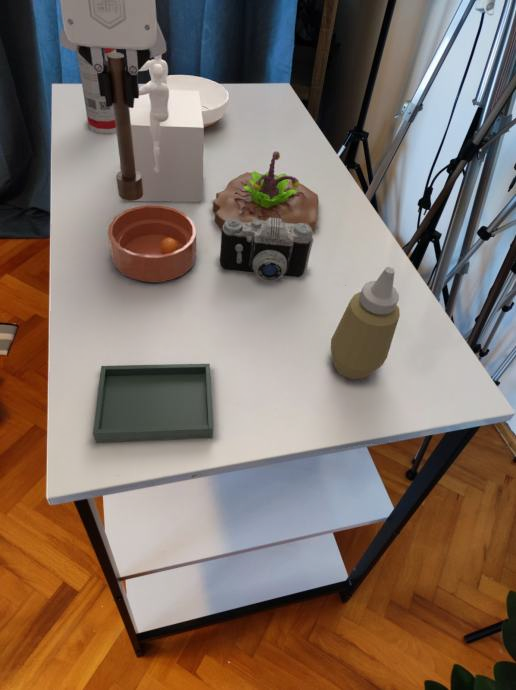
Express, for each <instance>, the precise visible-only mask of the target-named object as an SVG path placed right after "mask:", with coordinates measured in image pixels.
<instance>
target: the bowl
mask: <svg viewBox="0 0 516 690" xmlns="http://www.w3.org/2000/svg"><path fill="white" fill-rule="evenodd" d="M146 84H151V80H149V81H148V82H147V83H146ZM167 86H168V89H169V90H184V91H199V97H200V104H201V111H202V118H203V126H204V128H207V127H208V126H211V125H213V124H215V123H216V122H217V121H219V120H220V119H221V118H223V116H224V115H225V113H226V111H227V108H228V105H229V99H230V94H229V92H228V90H227V89H226V87H224V86H223V85H221V84H220V83H218V82H216V81H213V80H212V79H208V78H205V77H201V76H197V75H196V76H195V75H187V74H170V75H169V74H168V75H167ZM202 106H205V107H207V108H208V109H209V110H208V109H206V108H204V107H202Z"/></svg>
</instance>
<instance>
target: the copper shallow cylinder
mask: <svg viewBox="0 0 516 690" xmlns="http://www.w3.org/2000/svg"><path fill="white" fill-rule="evenodd" d="M107 237H108V244H109V250H110V255H111V260H112V263H113V265H114V267H115V268H116V269H117V270H118V271H119V272H121V273H122V274H123V275H125V276H127V277H128V278H130V279H133V280H138V281H142V282H147V283H148V282H150V283H154V282H155V283H156V282H159V283H161V282H164V281H170V280H174V279H176V278H179V277H182V276H183V275H185V274H186V273H187V272H188V271H189V270H191V269H192V268H193V266H194V264H195V262H196V260H197V226H196V225H195V223H194V221H193V219H192V218H191V217H190V216H188V215H187V214H186V213H185V212H182V211H181V210H179V209H177V208H173V207H169V206H165V205H159V204H157V205H155V204H154V205H151V204H146V205H140V206H139V205H138V206H134V207H131V208H129V209H126V210H123V211H122V212H120V213H119V214H118V215H116V216H115V217H114V218H112V220H111V222H110V223H109V225H108V231H107ZM166 238H172V239H174V240H175V241H176V242H177V243H178V247H179V248H178V250H176V251H174V252H172V253H168V254H163V253H162V251H161V249H160V245H161V242H162V241H163V240H164V239H166Z"/></svg>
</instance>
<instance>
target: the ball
mask: <svg viewBox="0 0 516 690" xmlns="http://www.w3.org/2000/svg"><path fill="white" fill-rule="evenodd" d="M178 248H179V247H178V243H177V242H176V241H175V240H174V239H172V238H166V239H164V240H163V241H162V242H161V245H160V249H161V251H162V253H163V254H168V253H172V252H174V251H176V250H178Z"/></svg>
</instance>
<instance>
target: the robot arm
mask: <svg viewBox="0 0 516 690" xmlns="http://www.w3.org/2000/svg"><path fill="white" fill-rule="evenodd" d="M59 3H60V10H61V17H62V18H61V19H62V27H61V32H60V37H59V44H60V45H61V46H62V47H64V48H65V49H67V50H70V51H72V52H74V53H76V54H77V53H79V54H80V55H81V56H82V57H83V58H84V59H85V60H86V61H87V62H88V63H89V64H90V65H91V66H92V67H93V69H94V71H95V72H97V76H98V83H99V90H100V96H101V97H105V100H106V106H107V107H111V106H112V105H113V99H112V90H111V82H110V74H109V68H108V62H107V61H106V60H105V51H104V48H115V49H116V50H125V51H126V52H125V55H126V63H125V68H126V69H125V70H126V72H125V87H126V97H127V106H128V107H129V108H133V107H134V99H135V98H138V99H139V88H140V87H139V75H138V73H139V72H140V71H139V70H140V69H141V67H142V66H143V65H144V64H145V63H146V62H147V61H148V60H149V61H150V59H152V58H154V57H156V56H158V55H161V54H162V55H163V54H166V53H167V49H168V45H167V41H166V39H165V38H164V34H163V32H162V29H161V27H160V25H159V22H158V19H157V15H158V14H157V5H156V4H157V3H156V0H59ZM162 55H161V56H162Z"/></svg>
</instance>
